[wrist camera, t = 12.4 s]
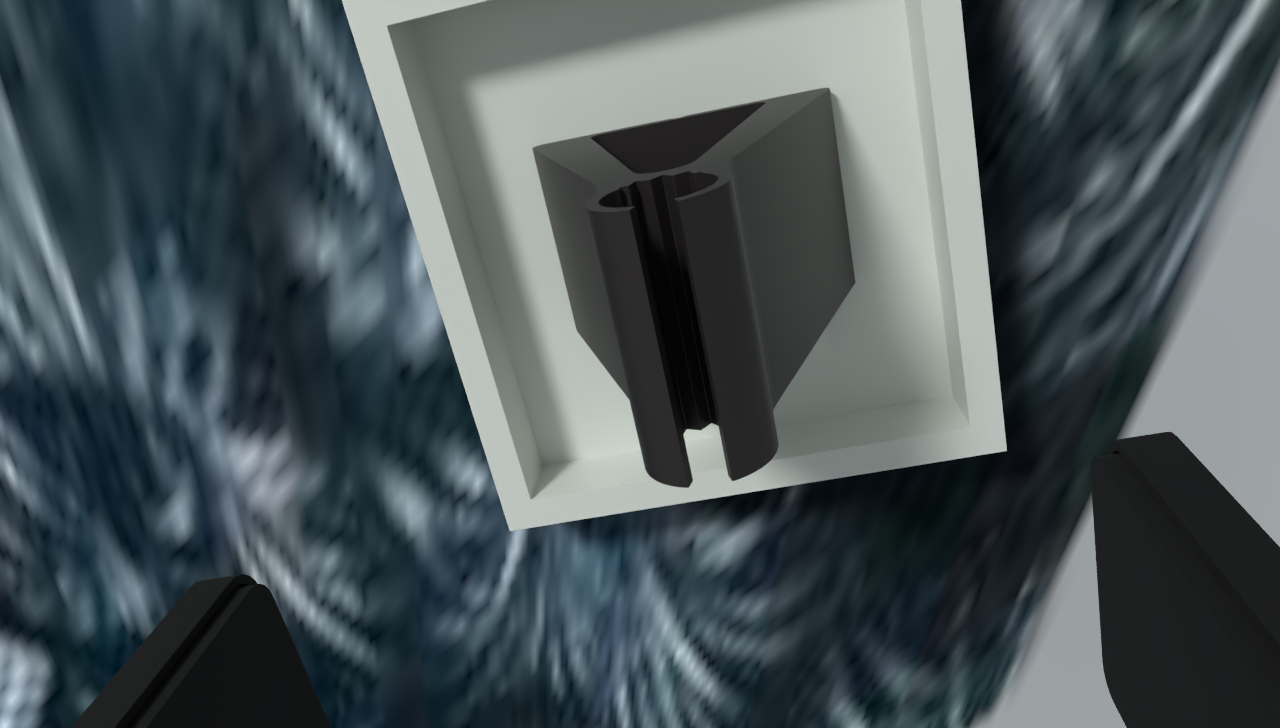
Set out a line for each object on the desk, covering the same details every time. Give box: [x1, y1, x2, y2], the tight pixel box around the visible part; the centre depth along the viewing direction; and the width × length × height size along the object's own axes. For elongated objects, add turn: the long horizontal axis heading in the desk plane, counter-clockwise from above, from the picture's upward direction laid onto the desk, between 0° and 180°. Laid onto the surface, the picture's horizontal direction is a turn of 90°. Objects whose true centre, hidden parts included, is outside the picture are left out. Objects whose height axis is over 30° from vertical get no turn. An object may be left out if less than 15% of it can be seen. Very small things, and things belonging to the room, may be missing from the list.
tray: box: [342, 0, 1007, 531], centre depth 29 cm, size 16×17×3 cm
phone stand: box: [532, 88, 855, 488], centre depth 25 cm, size 9×6×12 cm, turn 102°
